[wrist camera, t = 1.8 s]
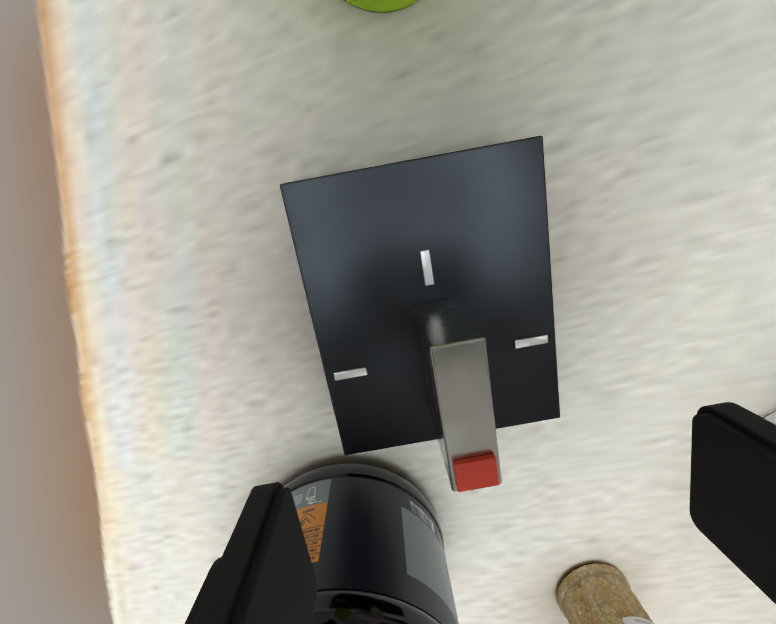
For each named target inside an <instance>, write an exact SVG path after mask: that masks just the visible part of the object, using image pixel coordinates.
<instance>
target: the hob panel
mask: <svg viewBox="0 0 776 624" xmlns="http://www.w3.org/2000/svg"><path fill="white" fill-rule="evenodd" d="M280 189H281V193H282V197H283V201H284V206H285V210H286V214H287V218H288V222H289V226H290V231H291V235H292V239H293V243H294V247H295V251H296V255H297V260H298V264H299V268H300V272H301V276H302V280H303V284H304V289H305V293H306V297H307V301H308V305H309V309H310V313H311V318H312V322H313V326H314V330H315V334H316V338H317V342H318V347H319V351H320V355H321V359H322V363H323V367H324V371H325V376H326V380H327V384H328V388H329V392H330V396H331V401H332V405H333V409H334V413H335V417H336V421H337V425H338V430H339V434H340V438H341V442H342V446H343V450H344V454H345V455H349V454H355V453H361V452H367V451H372V450H378V449H384V448H389V447H395V446H401V445H406V444H412V443H418V442H423V441H429V440H435V439H438V437H437V433H436V430H435V426H434V423H433V419H432V415H431V412H430V406H429V400H428V394H427V388H426V382H425V376H424V370H423V364H422V358H421V352H420V345H419V339H418V333H417V327H416V321H415V315H414V309H413V305H416V304H421V303H427V302H432V301H438V300H444V299H449V298H450V299H452V300H453V302H454V303H455V304H456V305H457V306H458V307H459V309H460V310H461V311H462V312H463V313H464V314H465V316H466V317H467V318H468V319H469V320H470V321H471V323H472V324H473V325H474V326H475V327H476V328H477V330H478V331H479V332H480V333H481V334H482V335H483V337H484V338H485V341H486V350H487V358H488V367H489V376H490V384H491V393H492V402H493V411H494V419H495V428H496V429H497V428H503V427H509V426H515V425H520V424H526V423H532V422H537V421H543V420H549V419H554V418H559V417H560V408H559V392H558V376H557V360H556V344H555V328H554V312H553V296H552V280H551V264H550V248H549V232H548V216H547V200H546V184H545V168H544V152H543V137H542V136H536V137H531V138H526V139H520V140H515V141H509V142H504V143H499V144H493V145H488V146H483V147H477V148H472V149H466V150H461V151H456V152H450V153H445V154H439V155H434V156H429V157H423V158H418V159H412V160H407V161H402V162H396V163H391V164H385V165H380V166H375V167H369V168H364V169H358V170H353V171H348V172H342V173H337V174H331V175H326V176H321V177H315V178H310V179H305V180H299V181H294V182H288V183H283V184H280Z"/></svg>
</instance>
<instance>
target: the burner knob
mask: <svg viewBox="0 0 776 624" xmlns="http://www.w3.org/2000/svg"><path fill="white" fill-rule="evenodd" d="M413 309H414V315H415V321H416V327H417V333H418V339H419V345H420V352H421V358H422V364H423V370H424V376H425V382H426V388H427V394H428V400H429V406H430V412H431V415H432V419H433V423H434V426H435V430H436V433H437V437H438V441H439V444H440V448H441V452H442V455H443V459H444V462H445V466H446V470H447V473H448V477H449V480H450V484H451V488H452V490H453V491H454V492H455V491H458V492H462V491H467V490H473V489H479V488H485V487H490V486H496V485H499V484H500V483H501V481H502V480H501V472H500V463H499V454H498V445H497V437H496V428H495V419H494V411H493V402H492V393H491V384H490V376H489V367H488V358H487V350H486V341H485V338H484V337H483V335H482V334H481V333H480V332H479V331H478V330H477V328H476V327H475V326H474V325H473V324H472V323H471V321H470V320H469V319H468V318H467V317H466V316H465V314H464V313H463V312H462V311H461V310H460V309H459V307H458V306H457V305H456V304H455V303H454V302H453V300H452V299H450V298H449V299H444V300H438V301H432V302H427V303H421V304H416V305H413Z"/></svg>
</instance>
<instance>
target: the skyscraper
mask: <svg viewBox="0 0 776 624" xmlns="http://www.w3.org/2000/svg"><path fill="white" fill-rule="evenodd" d="M764 419H766V420H768V421H770V422H772V423H773V424H775V425H776V411H775V412H773V413H771V414H770V415H768V416H767V417H765V418H764Z"/></svg>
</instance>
